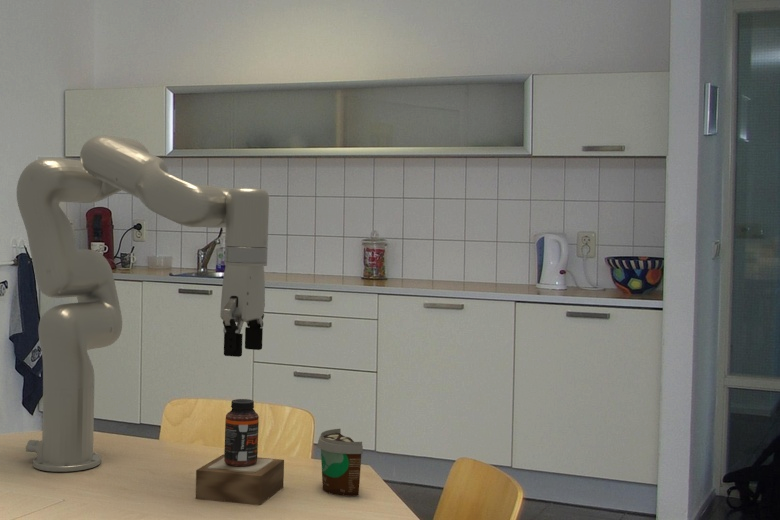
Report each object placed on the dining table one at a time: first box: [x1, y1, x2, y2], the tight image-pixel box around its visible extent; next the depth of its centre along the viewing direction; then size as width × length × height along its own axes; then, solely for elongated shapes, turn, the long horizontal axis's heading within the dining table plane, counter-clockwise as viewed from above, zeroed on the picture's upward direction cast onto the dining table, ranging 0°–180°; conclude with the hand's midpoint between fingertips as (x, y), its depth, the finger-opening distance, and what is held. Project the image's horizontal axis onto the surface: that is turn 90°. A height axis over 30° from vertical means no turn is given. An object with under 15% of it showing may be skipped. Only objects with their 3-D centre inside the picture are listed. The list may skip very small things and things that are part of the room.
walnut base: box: [195, 453, 285, 506], centre depth 168 cm, size 12×12×5 cm
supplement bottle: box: [223, 398, 260, 466], centre depth 168 cm, size 6×6×11 cm
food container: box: [316, 428, 364, 497], centre depth 171 cm, size 12×6×10 cm, turn 23°
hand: (243, 352), depth 168 cm, fingers open, 9 cm apart
